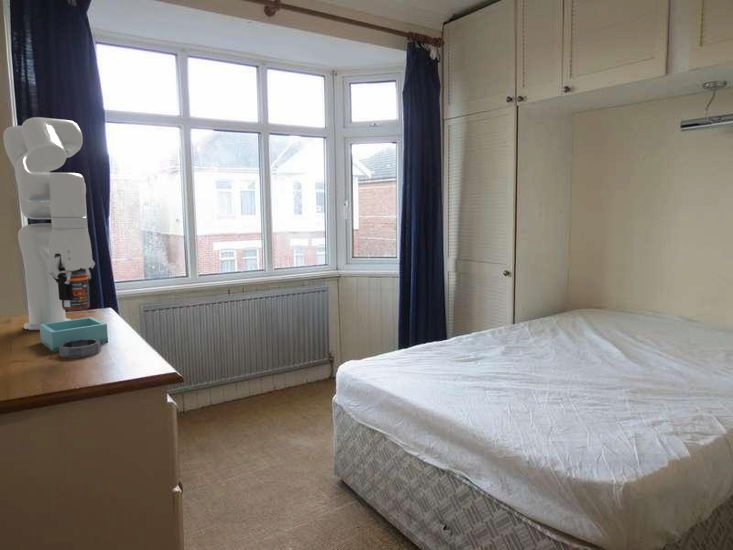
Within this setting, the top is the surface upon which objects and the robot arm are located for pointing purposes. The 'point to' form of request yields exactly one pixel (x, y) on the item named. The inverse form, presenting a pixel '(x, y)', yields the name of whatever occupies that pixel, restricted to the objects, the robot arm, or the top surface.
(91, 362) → the top surface
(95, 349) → the collar
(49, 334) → the bin
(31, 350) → the top surface
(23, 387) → the top surface
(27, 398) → the top surface
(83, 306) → the supplement bottle
